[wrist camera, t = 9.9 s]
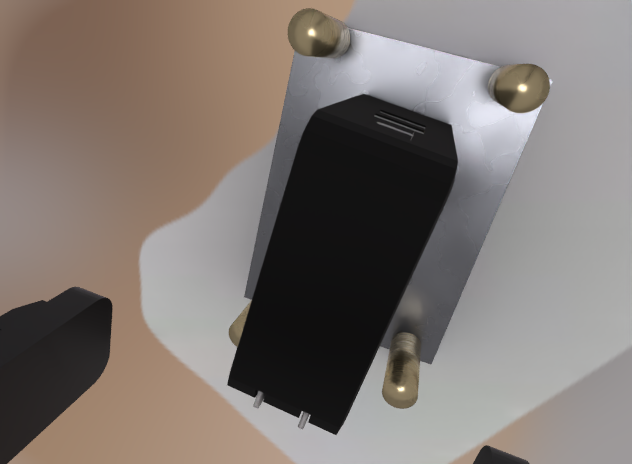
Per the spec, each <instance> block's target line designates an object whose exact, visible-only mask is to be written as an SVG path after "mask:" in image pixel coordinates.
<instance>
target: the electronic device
mask: <svg viewBox="0 0 632 464" xmlns="http://www.w3.org/2000/svg"><path fill="white" fill-rule="evenodd" d="M457 165H458V157H457V152H456V146H455V141H454V136H453V130H452V125H450V124H447V123H445V122H442V121H439V120H436V119H434V118H431V117H428V116H425V115H422V114H420V113H417V112H414V111H411V110H408V109H406V108H403V107H400V106H397V105H395V104H392V103H389V102H386V101H383V100H381V99H378V98H375V97H372V96H370V95H367V94H361V95H358V96H355V97H352V98H349V99H346V100H343V101H340V102H337V103H334V104H332V105H329V106H326V107H323V108H320V109H317V110H316V111H315V112H314V114H313V115H312V116H311V118H310V120H309V122H308V123H307V125H306V127H305V129H304V131H303V133H302V136H301V139H300V141H299V144H298V147H297V151H296V154H295V157H294V161H293V164H292V167H291V171H290V174H289V177H288V181H287V184H286V187H285V191H284V194H283V197H282V201H281V204H280V207H279V211H278V214H277V217H276V221H275V224H274V227H273V231H272V234H271V237H270V241H269V244H268V247H267V251H266V254H265V257H264V261H263V264H262V267H261V271H260V274H259V277H258V281H257V284H256V287H255V291H254V294H253V297H252V301H251V304H250V307H249V311H248V314H247V317H246V321H245V324H244V327H243V331H242V334H241V337H240V341H239V344H238V347H237V351H236V354H235V357H234V361H233V364H232V367H231V371H230V375H229V379H228V386H230V387H233V388H235V389H237V390H239V391H241V392H243V393H246V394H248V395H250V396H252V397H254V398H255V397H256V395H257V397H256V400H255V403H254V406H253V407H255V408H259V406H260V405H261V403H262V401H263V402H265V403H267V404H270V405H272V406H274V407H276V408H278V409H280V410H283V411H285V412H287V413H289V414H291V415H293V416H296V417H298V418H299V416H300V414H301V411H304V412H303V415H302V417H301V420H300V422H299V425H298V427H299V428H301V429H303V428H304V426H305V423H306V421H307V419H308V416H309V414H310V415H311V416H310V419H309V423H311V424H313V425H315V426H317V427H320V428H322V429H324V430H326V431H328V432H330V433H333V434H335V435H337V433H338V431H339V430H340V428H341V427H342V425H343V424H344V422H345V420H346V418H347V416H348V413H349V411H350V409H351V407H352V405H353V403H354V400H355V398H356V396H357V394H358V392H359V390H360V387H361V385H362V383H363V381H364V379H365V377H366V375H367V372H368V370H369V368H370V366H371V364H372V362H373V359H374V357H375V355H376V353H377V351H378V349H379V346H380V344H381V342H382V340H383V338H384V336H385V334H386V331H387V329H388V327H389V325H390V323H391V321H392V318H393V316H394V314H395V312H396V310H397V308H398V305H399V303H400V301H401V299H402V297H403V295H404V293H405V290H406V288H407V286H408V284H409V282H410V280H411V277H412V275H413V273H414V271H415V269H416V267H417V264H418V262H419V260H420V258H421V256H422V254H423V252H424V249H425V247H426V245H427V243H428V241H429V239H430V236H431V234H432V232H433V230H434V228H435V226H436V223H437V221H438V219H439V217H440V215H441V213H442V211H443V208H444V206H445V204H446V202H447V200H448V197H449V195H450V192H451V190H452V187H453V184H454V181H455V176H456V171H457ZM263 399H264V400H263Z"/></svg>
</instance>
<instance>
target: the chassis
mask: <svg viewBox="0 0 632 464" xmlns="http://www.w3.org/2000/svg"><path fill="white" fill-rule="evenodd" d="M288 38H289V42H290V44H291V46H292V47H293V49H294V50H295V52H294V57H293V62H292V67H291V72H290V77H289V82H288V87H287V91H286V96H285V101H284V106H283V111H282V116H281V121H280V126H279V130H278V135H277V140H276V145H275V150H274V155H273V160H272V165H271V169H270V174H269V179H268V184H267V189H266V194H265V199H264V204H263V208H262V213H261V218H260V223H259V228H258V233H257V238H256V243H255V247H254V252H253V257H252V262H251V267H250V272H249V277H248V282H247V286H246V291H245V296H244V297H246V298H249V299H252V297H253V294H254V291H255V287H256V284H257V281H258V277H259V274H260V271H261V267H262V264H263V261H264V257H265V254H266V251H267V247H268V244H269V241H270V237H271V234H272V231H273V227H274V224H275V221H276V217H277V214H278V211H279V207H280V204H281V201H282V197H283V194H284V191H285V187H286V184H287V181H288V177H289V174H290V171H291V167H292V164H293V161H294V157H295V154H296V151H297V147H298V144H299V141H300V139H301V136H302V133H303V131H304V129H305V127H306V125H307V123H308V122H309V120H310V118H311V116H312V115H313V114H314V112H315V111H316V110H317V109H320V108H323V107H326V106H329V105H332V104H334V103H337V102H340V101H343V100H346V99H349V98H352V97H355V96H358V95H361V94H367V95H370V96H372V97H375V98H378V99H381V100H383V101H386V102H389V103H392V104H395V105H397V106H400V107H403V108H406V109H408V110H411V111H414V112H417V113H420V114H422V115H425V116H428V117H431V118H434V119H436V120H439V121H442V122H445V123H447V124H450V125H452V130H453V136H454V141H455V146H456V152H457V157H458V165H457V171H456V176H455V181H454V184H453V187H452V190H451V192H450V195H449V197H448V200H447V202H446V204H445V206H444V208H443V211H442V213H441V215H440V217H439V219H438V221H437V223H436V226H435V228H434V230H433V232H432V234H431V236H430V239H429V241H428V243H427V245H426V247H425V249H424V252H423V254H422V256H421V258H420V260H419V262H418V264H417V267H416V269H415V271H414V273H413V275H412V277H411V280H410V282H409V284H408V286H407V288H406V290H405V293H404V295H403V297H402V299H401V301H400V303H399V305H398V308H397V310H396V312H395V314H394V316H393V318H392V321H391V323H390V325H389V327H388V329H387V331H386V334H385V336H384V338H383V340H382V342H381V344H380V346H381V347H384V348H387V349H390V351H389V356H388V362H387V367H386V373H385V378H384V384H383V389H382V394H383V397H384V399H385V401H386V402H387V403H388V404H390V405H391V406H393V407H396V408H401V409H404V408H409V407H411V406H413V405H414V404H415V403H416V401H417V397H418V383H419V369H420V361H423V362H426V363H428V364H432V361H433V359H434V357H435V354H436V352H437V350H438V347H439V345H440V343H441V340H442V338H443V336H444V333H445V331H446V329H447V326H448V324H449V322H450V319H451V317H452V315H453V312H454V310H455V308H456V305H457V303H458V301H459V298H460V296H461V294H462V291H463V289H464V287H465V284H466V282H467V280H468V277H469V275H470V273H471V270H472V268H473V266H474V263H475V261H476V259H477V256H478V254H479V252H480V249H481V247H482V245H483V242H484V240H485V238H486V235H487V233H488V231H489V228H490V226H491V224H492V221H493V219H494V217H495V214H496V212H497V210H498V207H499V205H500V203H501V200H502V198H503V196H504V193H505V191H506V189H507V186H508V184H509V182H510V179H511V177H512V175H513V172H514V170H515V168H516V165H517V163H518V161H519V158H520V156H521V154H522V151H523V149H524V147H525V144H526V142H527V140H528V137H529V135H530V133H531V130H532V128H533V126H534V123H535V121H536V119H537V116H538V114H539V112H540V109H541V107H542V105H543V102H544V101H545V99H546V98H547V96H548V93H549V89H550V86H551V84H552V81H553V80H550V79H549V78H548V75H547V74H546V72H545V71H544V70H543V69H542V68H540V67H538V66H536V65H533V64H513V65H505V66H502V67H499V66H495V65H492V64H488V63H484V62H480V61H476V60H472V59H468V58H464V57H460V56H456V55H453V54H449V53H445V52H441V51H437V50H433V49H429V48H425V47H421V46H417V45H414V44H410V43H406V42H402V41H398V40H394V39H390V38H386V37H382V36H379V35H375V34H371V33H367V32H363V31H359V30H355V29H351V28H347V26H346V25H345V24H344V23H343V22H341V21H339V20H337V19H335V18H333V17H331V16H329V15H326V14H324V13H322V12H320V11H318V10H315V9H303V10H301V11H299V12H297V13H296V14H295V15H294V16H293V18H292V19H291V21H290V23H289V27H288ZM251 301H252V300H251ZM250 304H251V302H250V303H249V304H248V305H247V306H246V308H245V309H244V310H243V311H242V313H241V314H240V315H239V316H238V318H237V319H236V320H235V321H234V322H233V324H232V325H231V326H230V328H229V337H230V339H231V341H232V342H233V344H234V345H236V346H237V347H238V344H239V341H240V337H241V334H242V331H243V327H244V324H245V321H246V317H247V314H248V311H249V307H250Z"/></svg>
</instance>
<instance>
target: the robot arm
mask: <svg viewBox="0 0 632 464" xmlns="http://www.w3.org/2000/svg"><path fill="white" fill-rule="evenodd" d="M111 322H112V303H111V301H110V299H108V298H106V297H103V296H100V295H98V294H95V293H93V292H90V291H87V290H85V289H82V288H80V287H72V288H70V289H68V290H66V291H64V292H63V293H61V294H59V295H58V296H56V297H55V298H53V299H51V300H49V301H48V302H46V301H43V300H41V301H38V302H35V303H31V304H28V305H25V306H21V307H18V308H15V309H12V310H10V311H9V312H7V313H5V314H4V315H2V316H0V464H7V463H8V462H9V461H10V460H12V459H13V458H14V457H15V456H16V455H17V454H18V453H19V452H20V451H21V450H23V449H24V448H25V447H26V446H27V445H28V444H29V443H30V442H31V441H32V440H33V439H34V438H36V436H38V435H39V434H40V433H41V432H42V431H43V430H44V429H45V428H46V427H47V426H49V425H50V424H51V423H52V422H53V421H54V420H55V419H56V418H57V417H58V416H59V415H60V414H61V413H63V412H64V411H65V410H66V409H67V408H68V407H69V406H70V405H71V404H72V403H74V402H75V401H76V400H77V399H78V398H79V397H80V396H81V395H82V394H83V393H84V392H85V391H87V390H88V389H89V388H90V387H91V386H92V385H93V384H94V383H95V382H96V381H97V379H98V378H99V377H100V376H101V374H102V373H103V371H104V369H105V367H106V365H107V362H108V359H109V354H110V338H111ZM473 464H529V463H528V461H526V460H524V459H521V458H519V457H516V456H513V455H511V454H508V453H506V452H503V451H500V450H498V449H495V448H493V447H490V446H484V447H483V448H482V449H481V450H480V452H479V454H478V456H477V457H476V459H475V461H474V463H473Z"/></svg>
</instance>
